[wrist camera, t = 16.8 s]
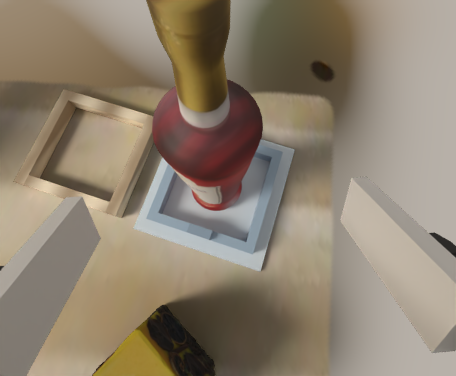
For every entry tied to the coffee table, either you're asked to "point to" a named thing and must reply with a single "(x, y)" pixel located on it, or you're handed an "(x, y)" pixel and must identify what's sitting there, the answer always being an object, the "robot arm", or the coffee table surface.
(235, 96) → the liquor
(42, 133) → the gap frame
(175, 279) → the coffee table surface
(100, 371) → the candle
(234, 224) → the tray
